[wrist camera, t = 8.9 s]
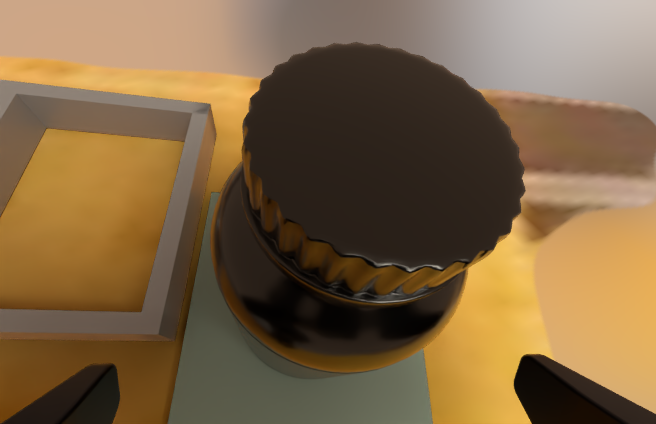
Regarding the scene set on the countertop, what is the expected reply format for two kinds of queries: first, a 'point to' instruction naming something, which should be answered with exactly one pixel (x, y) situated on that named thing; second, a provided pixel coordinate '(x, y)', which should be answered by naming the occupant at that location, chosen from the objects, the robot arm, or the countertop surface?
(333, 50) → the supplement bottle
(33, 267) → the countertop surface
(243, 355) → the rubber mat
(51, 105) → the parts organiser
